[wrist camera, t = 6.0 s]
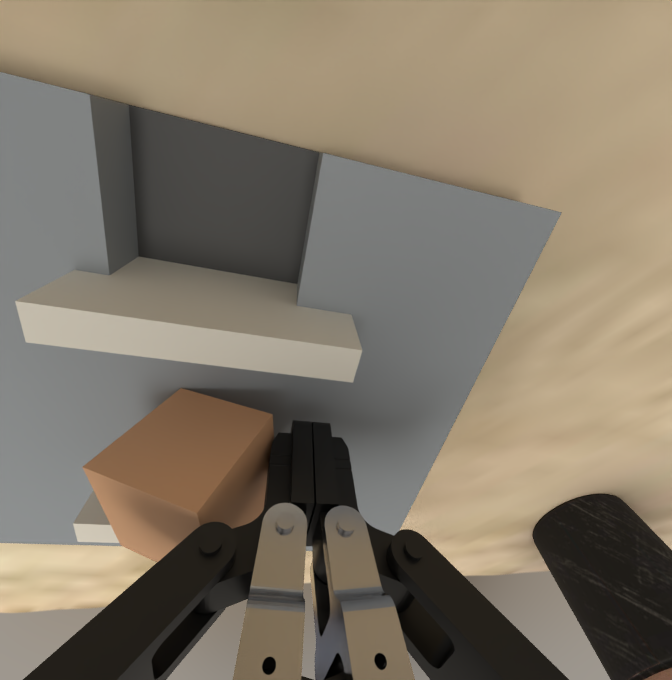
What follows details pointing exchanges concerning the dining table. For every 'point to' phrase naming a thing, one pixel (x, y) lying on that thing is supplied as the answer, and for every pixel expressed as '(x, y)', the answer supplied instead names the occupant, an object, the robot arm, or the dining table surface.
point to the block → (183, 471)
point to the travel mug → (613, 583)
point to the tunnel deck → (230, 297)
